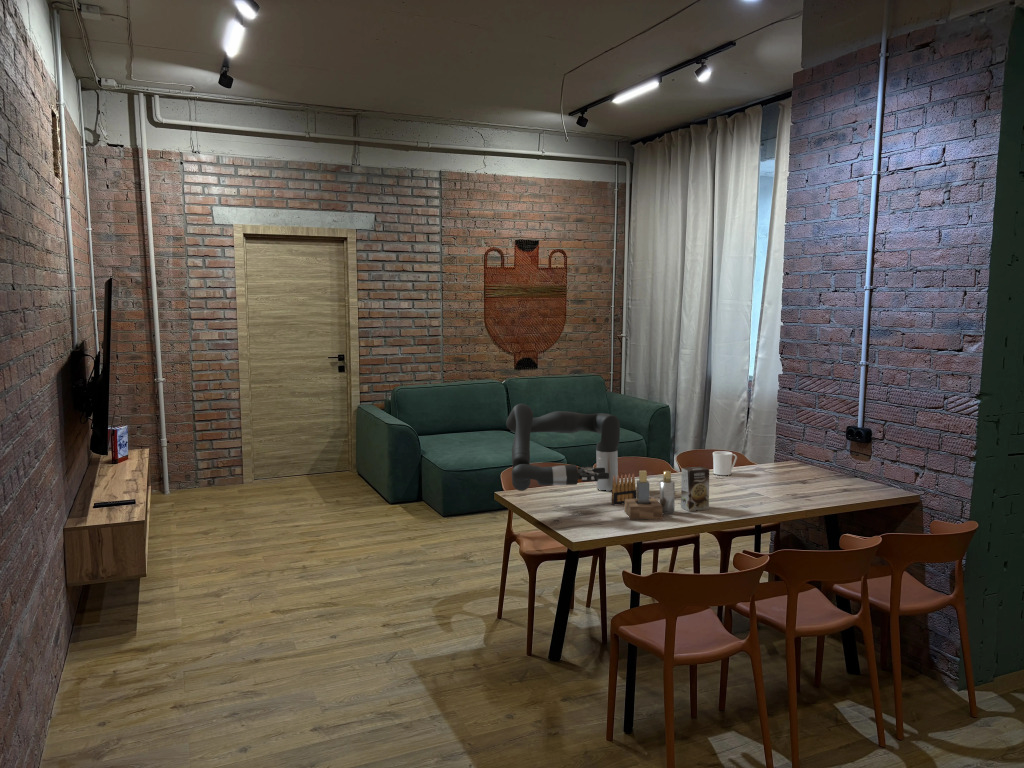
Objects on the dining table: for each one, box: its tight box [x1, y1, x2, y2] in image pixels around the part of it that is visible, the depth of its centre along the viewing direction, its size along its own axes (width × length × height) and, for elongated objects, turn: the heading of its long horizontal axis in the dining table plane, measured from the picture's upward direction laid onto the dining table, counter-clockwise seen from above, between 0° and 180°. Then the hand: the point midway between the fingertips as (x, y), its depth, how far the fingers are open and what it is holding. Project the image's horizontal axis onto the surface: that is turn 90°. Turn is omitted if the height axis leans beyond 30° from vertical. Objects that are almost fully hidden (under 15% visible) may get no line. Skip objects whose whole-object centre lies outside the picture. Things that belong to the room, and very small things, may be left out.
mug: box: [712, 450, 738, 477], centre depth 339 cm, size 11×9×10 cm
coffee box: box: [680, 466, 710, 512], centre depth 282 cm, size 9×6×16 cm
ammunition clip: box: [611, 472, 637, 505], centre depth 292 cm, size 11×2×12 cm, turn 111°
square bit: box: [636, 469, 650, 504], centre depth 274 cm, size 4×4×16 cm
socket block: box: [624, 497, 663, 521], centre depth 275 cm, size 12×12×5 cm
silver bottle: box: [659, 470, 676, 515], centre depth 278 cm, size 6×6×16 cm
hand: (606, 473), depth 274 cm, fingers open, 8 cm apart
